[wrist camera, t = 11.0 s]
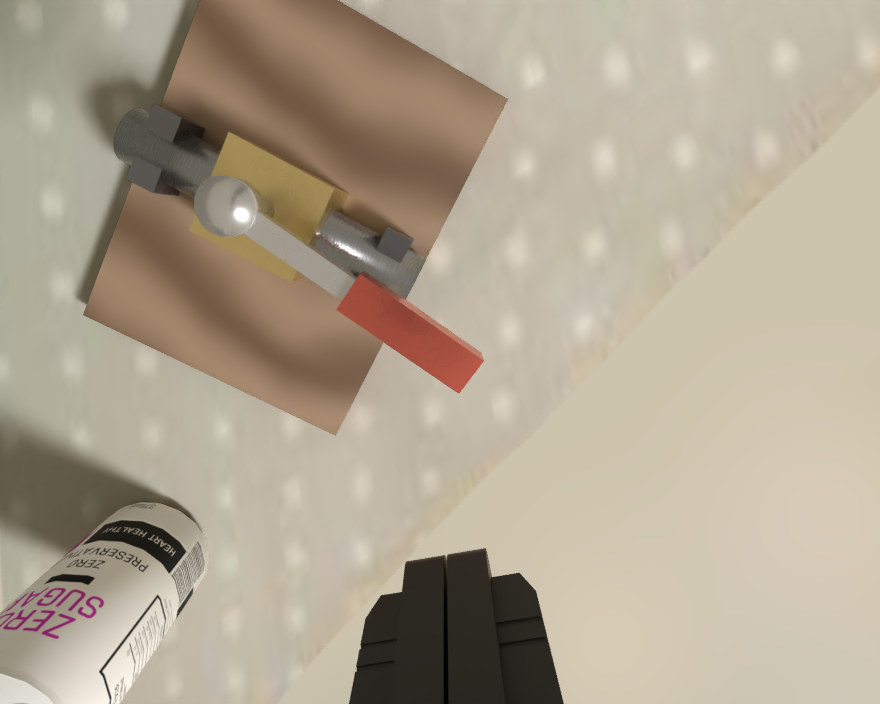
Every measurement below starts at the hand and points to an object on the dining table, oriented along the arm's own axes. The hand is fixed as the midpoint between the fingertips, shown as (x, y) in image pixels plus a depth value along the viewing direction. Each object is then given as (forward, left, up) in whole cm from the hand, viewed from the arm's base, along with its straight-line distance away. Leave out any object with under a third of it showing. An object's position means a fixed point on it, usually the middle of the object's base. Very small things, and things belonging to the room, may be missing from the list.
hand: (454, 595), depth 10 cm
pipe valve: (-2, -12, -27) cm, 29 cm away
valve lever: (-1, -6, -17) cm, 18 cm away
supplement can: (+25, -11, -27) cm, 38 cm away
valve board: (-2, -12, -27) cm, 29 cm away
